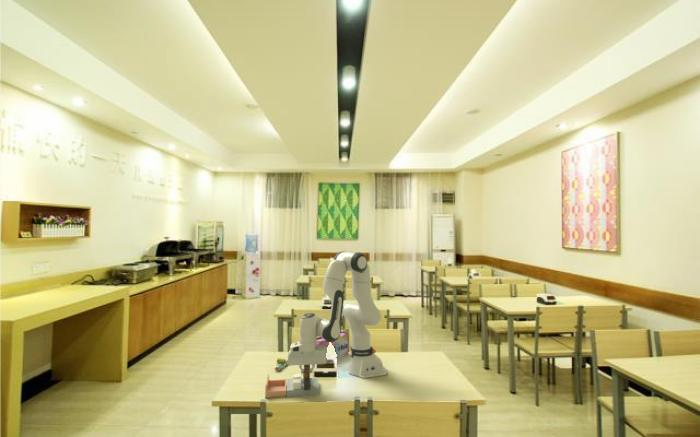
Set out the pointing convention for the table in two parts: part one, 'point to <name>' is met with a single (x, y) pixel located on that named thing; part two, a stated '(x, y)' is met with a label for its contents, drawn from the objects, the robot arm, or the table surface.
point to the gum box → (337, 344)
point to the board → (301, 392)
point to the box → (275, 388)
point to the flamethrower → (281, 364)
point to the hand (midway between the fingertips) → (306, 372)
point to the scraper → (306, 377)
